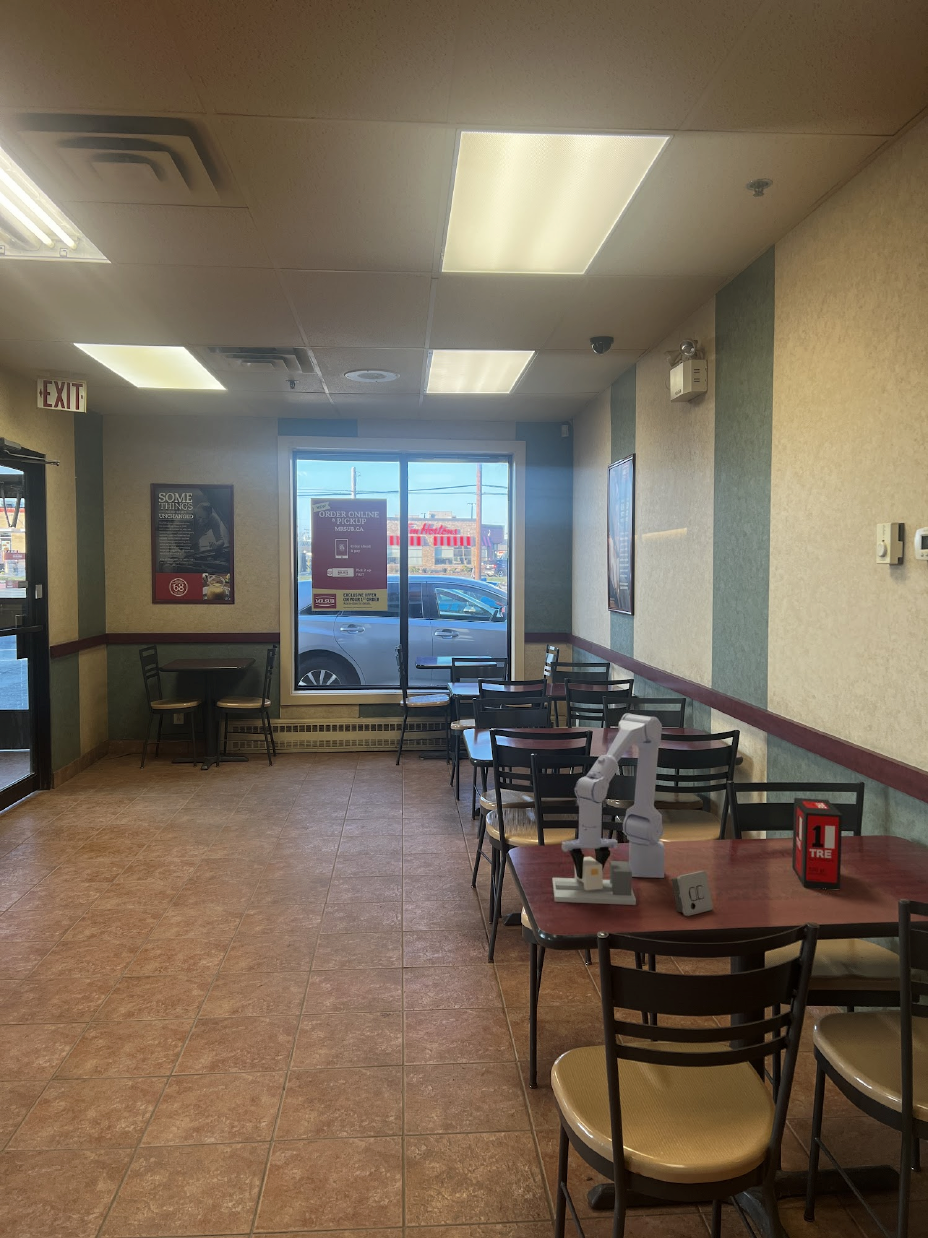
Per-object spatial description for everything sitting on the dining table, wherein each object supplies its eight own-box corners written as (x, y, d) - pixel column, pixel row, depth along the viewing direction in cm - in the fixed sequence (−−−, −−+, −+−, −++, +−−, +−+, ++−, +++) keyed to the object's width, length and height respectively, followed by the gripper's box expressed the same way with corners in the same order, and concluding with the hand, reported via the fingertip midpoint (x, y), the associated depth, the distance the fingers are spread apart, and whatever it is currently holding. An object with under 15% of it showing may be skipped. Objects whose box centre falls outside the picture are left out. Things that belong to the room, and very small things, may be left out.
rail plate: (628, 885, 217) (629, 858, 217) (635, 905, 203) (636, 876, 203) (552, 882, 219) (552, 855, 218) (554, 901, 205) (555, 873, 204)
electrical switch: (686, 918, 196) (684, 878, 196) (670, 912, 200) (668, 874, 201) (713, 910, 201) (712, 872, 201) (697, 906, 205) (696, 868, 206)
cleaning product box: (839, 890, 216) (842, 815, 215) (803, 887, 218) (806, 812, 217) (825, 870, 232) (827, 799, 232) (792, 867, 234) (794, 797, 233)
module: (591, 879, 216) (590, 856, 216) (604, 889, 207) (603, 865, 207) (574, 881, 215) (574, 858, 215) (587, 891, 206) (586, 867, 206)
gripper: (610, 819, 216) (609, 870, 216) (558, 821, 213) (557, 873, 213) (621, 826, 209) (620, 879, 210) (567, 829, 206) (566, 882, 206)
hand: (589, 877), depth 211 cm, fingers closed on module, 4 cm apart
